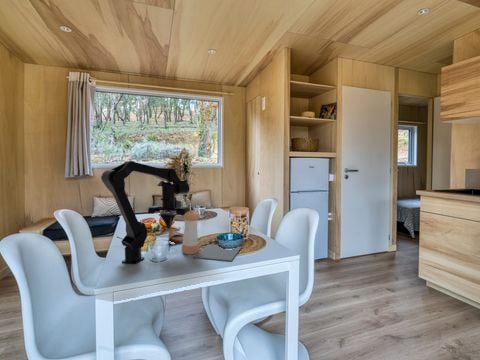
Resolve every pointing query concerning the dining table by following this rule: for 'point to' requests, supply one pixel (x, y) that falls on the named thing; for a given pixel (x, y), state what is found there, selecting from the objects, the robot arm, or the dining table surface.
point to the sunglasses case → (176, 237)
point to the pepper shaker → (190, 233)
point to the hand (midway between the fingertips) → (169, 228)
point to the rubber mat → (217, 253)
